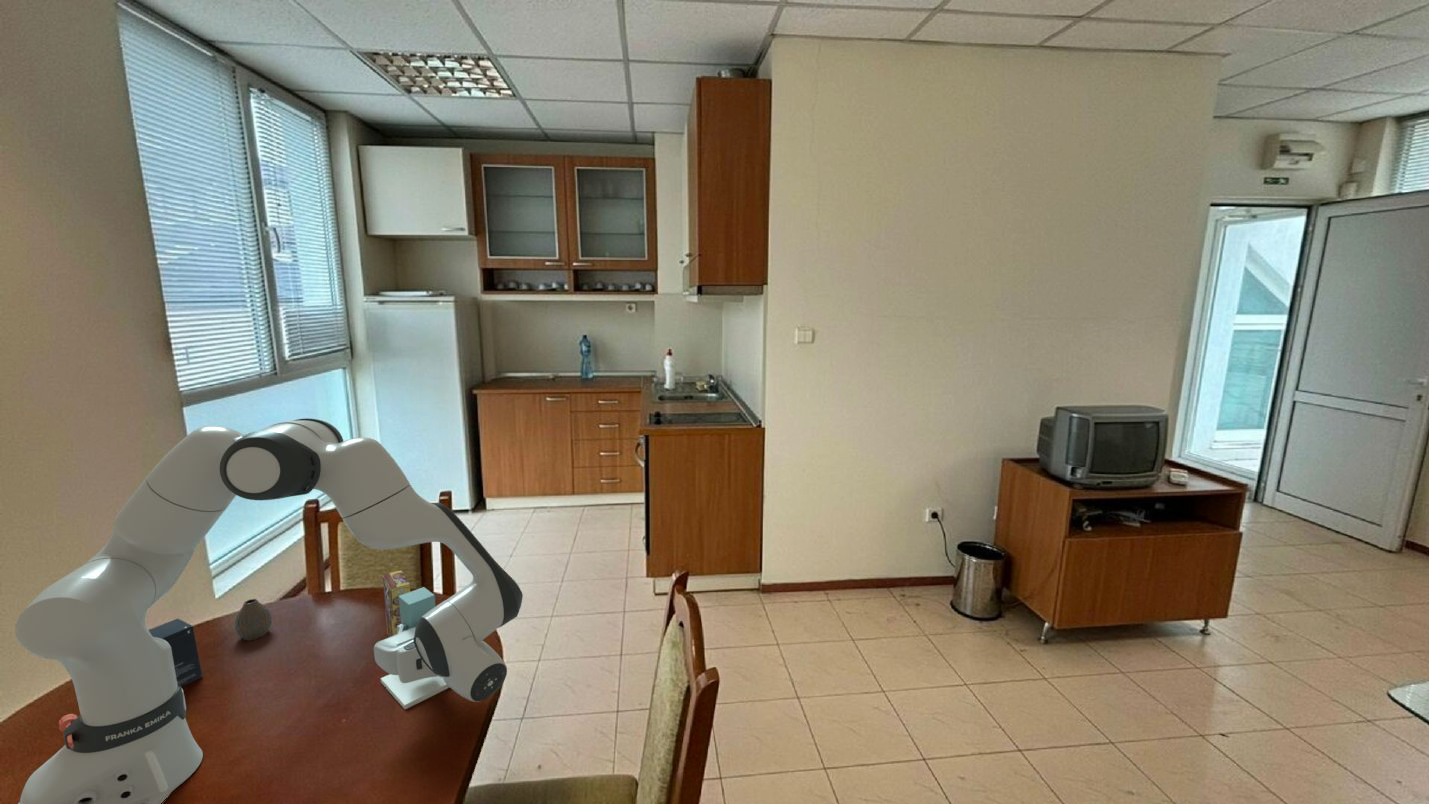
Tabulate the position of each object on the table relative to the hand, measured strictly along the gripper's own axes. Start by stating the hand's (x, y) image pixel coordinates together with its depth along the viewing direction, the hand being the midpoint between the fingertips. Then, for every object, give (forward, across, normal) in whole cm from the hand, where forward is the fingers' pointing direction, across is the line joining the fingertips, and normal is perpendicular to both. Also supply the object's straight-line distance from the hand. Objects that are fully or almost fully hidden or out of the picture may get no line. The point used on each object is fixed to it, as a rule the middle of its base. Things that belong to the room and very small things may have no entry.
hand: (417, 620), depth 119 cm
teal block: (-1, 0, +8) cm, 8 cm away
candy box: (+18, -3, +14) cm, 23 cm away
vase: (+45, +19, +13) cm, 51 cm away
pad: (-1, 0, +13) cm, 13 cm away
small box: (+36, +37, +13) cm, 54 cm away
